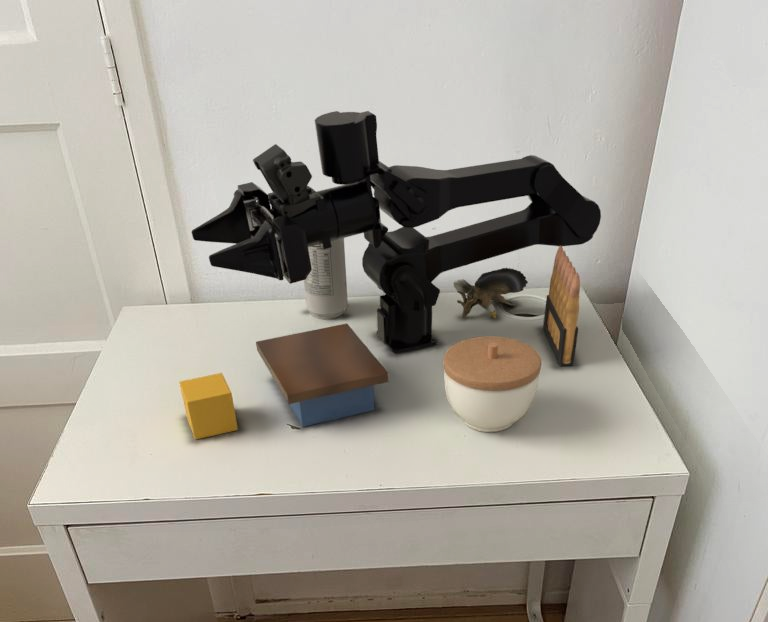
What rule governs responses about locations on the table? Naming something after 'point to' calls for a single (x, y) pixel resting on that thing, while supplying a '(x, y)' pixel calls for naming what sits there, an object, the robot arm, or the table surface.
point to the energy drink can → (327, 281)
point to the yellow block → (208, 405)
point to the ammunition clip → (562, 310)
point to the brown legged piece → (490, 289)
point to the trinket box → (491, 381)
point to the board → (320, 363)
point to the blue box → (334, 406)
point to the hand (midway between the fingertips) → (200, 247)
